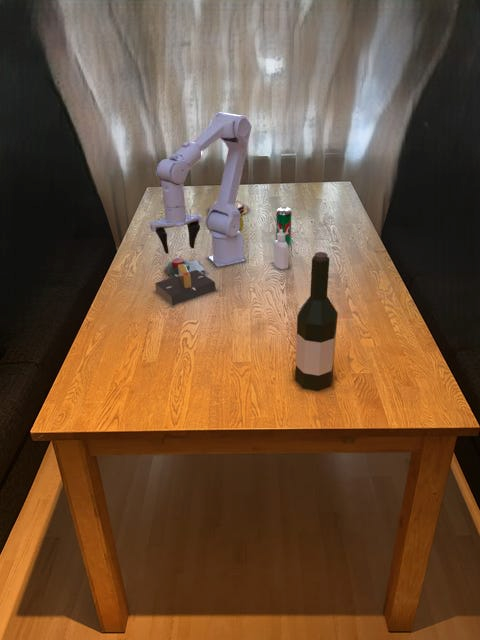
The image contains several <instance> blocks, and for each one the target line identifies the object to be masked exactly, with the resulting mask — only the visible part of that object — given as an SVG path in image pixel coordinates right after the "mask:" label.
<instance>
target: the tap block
mask: <svg viewBox="0 0 480 640" xmlns="http://www.w3.org/2000/svg"><path fill="white" fill-rule="evenodd" d="M189 274H190V279H191V288H185V287H184V286H183V284H182V282H181V280H180V278H179V276H177V275H176V274H175V277H169V278H167V279H163V280H160V281H156V282H155V283H154V284H155V285H154V286H155V291H156V292H155V293H157V295H159V296H160V297H162V298H163V299H164V300H165V301H166V302H167V303H169V304H170V305H171V306H172V307H173V306H176V305H180V304H182V303H184V302H188V301H191V300H193V299H197V298H199V297H203V296H205V295H207V294H210V293H213V292H216V281H214V280H213V279H211V278H210V277H208V276H207V275H206V274H203V273H201V272H200V271H199V270H194V271H191V272H189Z"/></svg>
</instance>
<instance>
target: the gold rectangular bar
mask: <svg viewBox="0 0 480 640" xmlns="http://www.w3.org/2000/svg"><path fill="white" fill-rule="evenodd" d="M178 272H179V278H180V280H181V282H182V284H183V286H184V287H185V288H191V279H190V274H189V272H188V270H187V269H186V267H185V265H184V264H180V265H178Z"/></svg>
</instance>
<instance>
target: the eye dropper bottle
mask: <svg viewBox="0 0 480 640" xmlns="http://www.w3.org/2000/svg"><path fill="white" fill-rule="evenodd" d="M273 265H274V267H276V268H277V269H279V270H286V269H288V268H289V245H288V244H287V242H286V241H285V233H283V230H282V229H281V230H280V233H278V234H277V240H276V239H275V240H274V242H273Z"/></svg>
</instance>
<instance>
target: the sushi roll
mask: <svg viewBox="0 0 480 640" xmlns="http://www.w3.org/2000/svg"><path fill="white" fill-rule="evenodd" d="M216 202H217V201H215V202H214V203H212V205H213V204H215V203H216ZM235 206H236V208H237V209H238V211H239V212H240V215H241V216H243V215H245V214H247V212H248V207H247V206H246V205H244V203H243V202H242V201H240V200H239V199H237V200H236V203H235ZM209 211H210V209H209V210H208V212H209ZM221 213H224V212H221ZM224 214H227V213H224ZM227 215H228V214H227Z"/></svg>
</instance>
